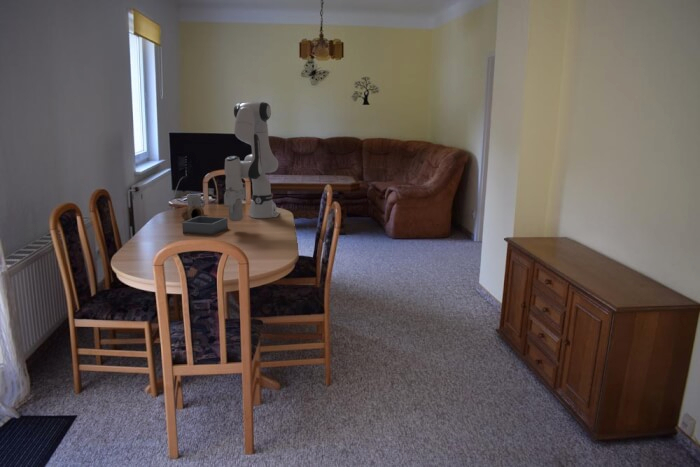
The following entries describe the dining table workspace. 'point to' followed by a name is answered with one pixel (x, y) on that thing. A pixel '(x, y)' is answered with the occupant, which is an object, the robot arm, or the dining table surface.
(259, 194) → the robot arm
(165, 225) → the dining table surface
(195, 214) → the clay pipe
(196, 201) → the cup
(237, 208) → the can
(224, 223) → the bin
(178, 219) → the dining table surface
